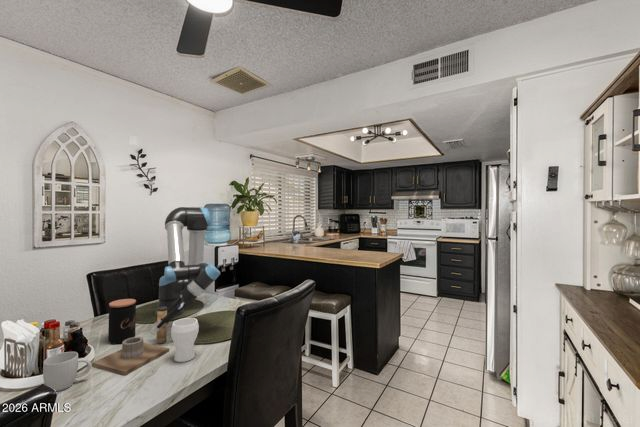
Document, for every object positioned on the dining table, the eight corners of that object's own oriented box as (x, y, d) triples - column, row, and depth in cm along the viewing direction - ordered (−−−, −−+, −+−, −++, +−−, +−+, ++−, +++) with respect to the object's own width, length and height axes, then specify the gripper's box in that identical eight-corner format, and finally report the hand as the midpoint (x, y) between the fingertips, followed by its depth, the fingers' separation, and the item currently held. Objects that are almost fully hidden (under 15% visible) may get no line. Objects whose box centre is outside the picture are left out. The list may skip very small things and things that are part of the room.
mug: (39, 398, 93) (40, 367, 93) (45, 384, 100) (46, 355, 100) (90, 385, 100) (90, 356, 100) (91, 373, 108) (92, 346, 108)
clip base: (138, 344, 131) (139, 328, 131) (169, 351, 125) (169, 334, 125) (91, 366, 112) (92, 347, 112) (125, 375, 106) (125, 355, 107)
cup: (171, 354, 123) (172, 319, 123) (198, 349, 128) (198, 316, 128) (169, 366, 114) (170, 328, 114) (198, 361, 118) (199, 324, 118)
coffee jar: (121, 346, 130) (122, 306, 130) (102, 343, 132) (103, 304, 132) (140, 336, 140) (141, 299, 140) (122, 334, 142) (123, 297, 142)
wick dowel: (161, 339, 137) (162, 306, 137) (168, 340, 136) (169, 307, 136) (154, 343, 133) (155, 308, 133) (161, 344, 132) (161, 309, 132)
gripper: (198, 301, 134) (157, 343, 127) (196, 292, 149) (159, 329, 142) (186, 291, 132) (143, 333, 124) (185, 282, 147) (147, 319, 139)
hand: (152, 330), depth 133 cm, fingers closed on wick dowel, 4 cm apart
